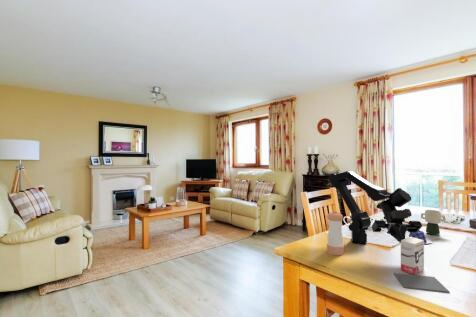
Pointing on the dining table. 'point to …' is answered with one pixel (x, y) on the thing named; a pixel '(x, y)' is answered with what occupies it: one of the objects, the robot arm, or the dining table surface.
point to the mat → (420, 282)
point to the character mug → (432, 221)
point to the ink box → (412, 255)
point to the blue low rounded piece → (420, 236)
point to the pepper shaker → (335, 234)
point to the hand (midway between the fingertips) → (404, 244)
